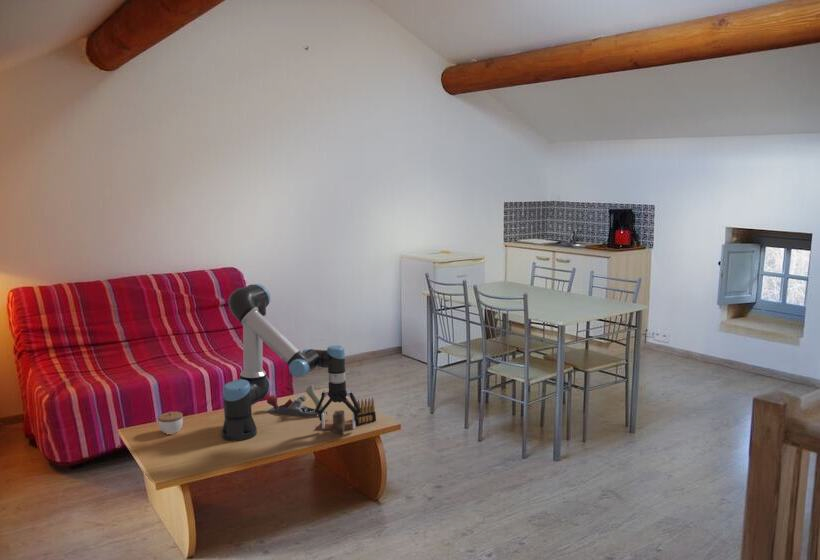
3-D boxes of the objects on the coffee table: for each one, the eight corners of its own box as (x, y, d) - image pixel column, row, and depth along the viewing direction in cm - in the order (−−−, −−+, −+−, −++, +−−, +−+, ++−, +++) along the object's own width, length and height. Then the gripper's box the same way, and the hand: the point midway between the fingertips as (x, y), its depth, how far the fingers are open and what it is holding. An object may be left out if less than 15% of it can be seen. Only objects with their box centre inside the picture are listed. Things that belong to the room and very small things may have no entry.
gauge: (333, 435, 311) (332, 413, 310) (337, 426, 321) (336, 405, 319) (342, 435, 311) (341, 413, 309) (346, 426, 321) (345, 405, 319)
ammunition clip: (374, 421, 328) (373, 396, 326) (376, 422, 327) (375, 397, 325) (353, 425, 323) (352, 400, 321) (355, 426, 321) (354, 401, 320)
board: (319, 429, 318) (319, 424, 318) (321, 425, 324) (321, 419, 323) (352, 429, 317) (352, 424, 317) (354, 425, 322) (354, 419, 322)
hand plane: (323, 418, 333) (321, 387, 331) (264, 412, 343) (262, 382, 340) (329, 413, 340) (328, 383, 337) (271, 408, 349) (270, 378, 347)
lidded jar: (159, 438, 313) (157, 417, 311) (158, 430, 322) (156, 410, 321) (185, 434, 317) (183, 413, 315) (183, 426, 326) (181, 406, 325)
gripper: (307, 383, 308) (309, 430, 311) (364, 383, 306) (365, 431, 309) (310, 378, 315) (312, 424, 318) (366, 378, 313) (368, 424, 316)
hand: (338, 427), depth 314 cm, fingers open, 13 cm apart
